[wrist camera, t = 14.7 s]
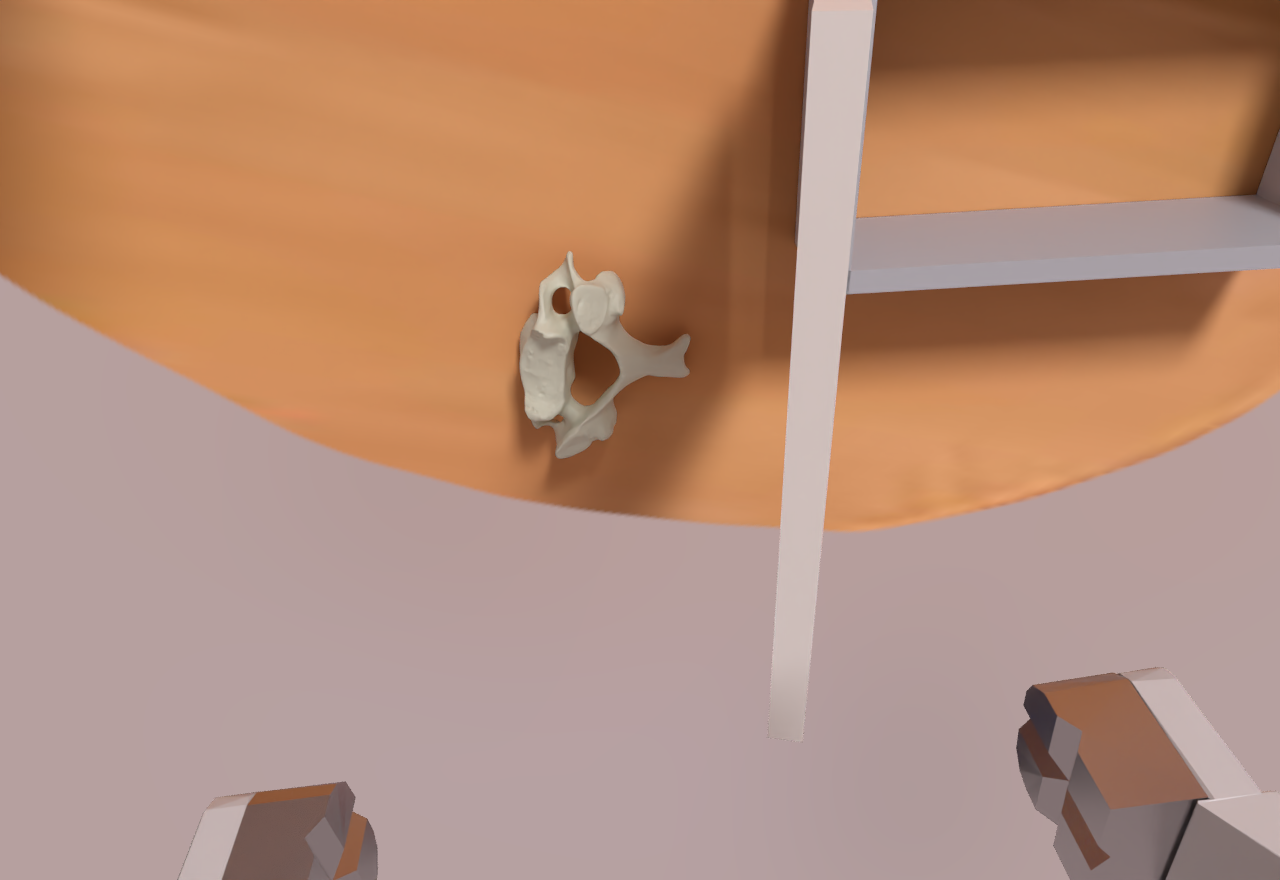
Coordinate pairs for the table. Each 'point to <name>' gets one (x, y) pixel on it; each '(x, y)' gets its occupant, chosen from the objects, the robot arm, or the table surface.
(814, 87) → the lid
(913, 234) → the duct
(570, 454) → the spine bone
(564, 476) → the table surface
